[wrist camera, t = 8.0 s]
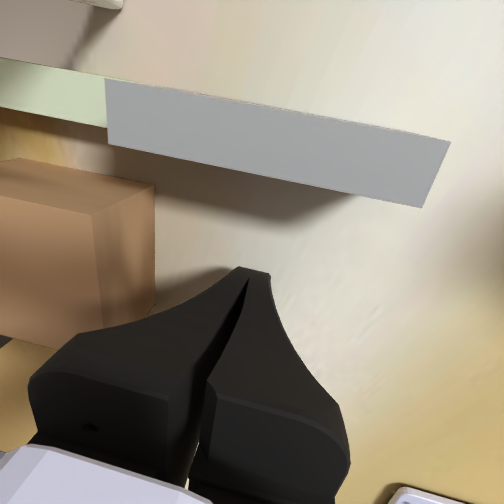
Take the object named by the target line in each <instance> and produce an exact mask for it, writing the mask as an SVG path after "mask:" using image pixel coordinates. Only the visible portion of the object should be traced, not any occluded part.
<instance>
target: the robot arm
mask: <svg viewBox="0 0 504 504" xmlns="http://www.w3.org/2000/svg"><path fill="white" fill-rule="evenodd" d="M270 281H271V276H270V275H269V273H265V272H261V271H256V270H252V269H248V268H244V267H239V266H238V267H237V268H235V269H234V270H233V271H231V272H230V273H229V274H228V275H226V276H225V277H224V278H222V279H221V280H220V281H218V282H217V283H216V284H214V285H213V286H211V287H210V288H208V289H207V290H205V291H204V292H202V293H200V294H199V295H197V296H195V297H194V298H192V299H190V300H188V301H186V302H184V303H182V304H180V305H178V306H176V307H174V308H171V309H169V310H166V311H163V312H161V313H158V314H155V315H153V316H150V317H147V318H144V319H141V320H137V321H134V322H130V323H126V324H122V325H118V326H114V327H109V328H104V329H99V330H94V331H89V332H83V333H77V334H76V335H75V336H74V337H73V338H72V339H70V340H69V341H68V342H67V343H66V344H64V345H63V346H62V347H61V348H60V349H59V350H58V351H57V352H56V353H55V354H54V355H53V356H52V357H51V358H50V359H49V360H48V361H47V362H46V363H45V364H44V365H43V366H42V367H40V368H39V369H38V370H37V371H36V372H35V373H34V374H33V375H32V376H31V377H30V380H29V383H28V396H29V401H30V405H31V408H32V412H33V415H34V419H35V422H36V425H37V429H38V432H37V433H36V434H35V435H34V436H33V438H32V439H31V440H30V441H29V442H28V443H27V445H24V446H21V447H19V448H16V449H14V450H11V451H9V452H7V453H6V452H3V451H0V504H335V495H336V494H337V492H338V490H339V488H340V487H341V485H342V483H343V481H344V479H345V478H346V476H347V474H348V471H349V468H350V464H351V462H350V450H349V443H348V438H347V434H346V429H345V425H344V421H343V418H342V414H341V411H340V408H339V405H338V403H337V402H336V401H335V400H334V399H333V398H332V397H331V396H330V395H329V394H328V393H327V391H326V390H325V389H324V388H323V387H322V386H321V385H320V384H319V383H318V382H317V380H316V379H315V378H314V377H313V375H312V374H311V373H310V371H309V370H308V369H307V367H306V366H305V364H304V363H303V361H302V360H301V358H300V357H299V355H298V354H297V352H296V351H295V349H294V347H293V345H292V344H291V342H290V340H289V338H288V336H287V334H286V332H285V330H284V328H283V326H282V323H281V321H280V318H279V315H278V313H277V310H276V306H275V303H274V299H273V295H272V290H271V282H270ZM198 442H199V444H198ZM197 445H198V447H197ZM196 449H197V450H196ZM195 452H196V453H195ZM194 455H195V456H194ZM193 458H194V459H193ZM192 461H193V462H192ZM187 478H189V487H188V490H187V489H184V488H185V484H186V481H187ZM388 504H464V503H461V502H458V501H454V500H451V499H447V498H444V497H440V496H437V495H434V494H430V493H427V492H423V491H420V490H417V489H413V488H410V487H401V488H399V489H398V490H397V492H396V493H395V494H394V496H393V497H392V498H391V500H390V501H389V502H388Z"/></svg>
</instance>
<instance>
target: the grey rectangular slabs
mask: <svg viewBox="0 0 504 504" xmlns="http://www.w3.org/2000/svg"><path fill="white" fill-rule="evenodd" d="M104 81H105V97H106V114H107V131H108V144H111V145H116V146H121V147H126V148H131V149H136V150H140V151H145V152H150V153H155V154H160V155H165V156H170V157H174V158H179V159H184V160H189V161H194V162H199V163H204V164H208V165H213V166H218V167H223V168H228V169H233V170H238V171H243V172H247V173H252V174H257V175H262V176H267V177H272V178H277V179H281V180H286V181H291V182H296V183H301V184H306V185H311V186H315V187H320V188H325V189H330V190H335V191H340V192H345V193H349V194H354V195H359V196H364V197H369V198H374V199H379V200H383V201H388V202H393V203H398V204H403V205H408V206H413V207H418V208H422V206H423V204H424V202H425V200H426V197H427V195H428V193H429V191H430V188H431V186H432V184H433V182H434V179H435V177H436V175H437V173H438V170H439V168H440V166H441V164H442V161H443V159H444V157H445V155H446V153H447V150H448V148H449V146H450V144H451V142H450V141H445V140H441V139H437V138H432V137H428V136H424V135H419V134H415V133H410V132H406V131H401V130H395V129H390V128H384V127H379V126H373V125H368V124H362V123H357V122H351V121H346V120H340V119H335V118H329V117H324V116H319V115H313V114H308V113H302V112H297V111H291V110H286V109H280V108H275V107H269V106H264V105H258V104H253V103H247V102H242V101H236V100H231V99H226V98H220V97H215V96H209V95H204V94H198V93H193V92H187V91H182V90H176V89H171V88H165V87H158V86H152V85H145V84H139V83H132V82H126V81H119V80H113V79H106V78H104Z"/></svg>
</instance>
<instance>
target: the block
mask: <svg viewBox="0 0 504 504" xmlns="http://www.w3.org/2000/svg"><path fill="white" fill-rule="evenodd" d="M154 305H155V210H154V185H151V184H146V183H142V182H137V181H132V180H127V179H122V178H117V177H112V176H107V175H102V174H97V173H92V172H87V171H82V170H77V169H72V168H67V167H62V166H57V165H52V164H47V163H42V162H37V161H32V160H27V159H23V158H18V159H12V160H6V161H0V335H4V336H8V337H11V338H15V339H19V340H22V341H26V342H30V343H34V344H37V345H41V346H45V347H48V348H52V349H56V350H59V349H60V348H61V347H62V346H63V345H64V344H66V343H67V342H68V341H69V340H70V339H72V338H73V337H74V336H75V335H76V334H77V333H83V332H89V331H94V330H99V329H104V328H109V327H114V326H118V325H122V324H126V323H130V322H134V321H137V320H141V319H144V318H145V316H146V315H147V314H148V313H149V311H150V310H151V309H152V308H153V306H154Z"/></svg>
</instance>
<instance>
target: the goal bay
mask: <svg viewBox="0 0 504 504" xmlns="http://www.w3.org/2000/svg"><path fill="white" fill-rule="evenodd" d="M104 78H106V79H113V80H119V81H126V82H132V81H127V80H122V79H116V78H111V77H105V76H100V75H94V74H89V73H83V72H78V71H72V70H67V69H61V68H56V67H50V66H45V65H39V64H34V63H28V62H22V61H18V60H11V59H7V58H1V57H0V107H5V108H10V109H15V110H20V111H25V112H30V113H35V114H40V115H45V116H50V117H55V118H60V119H65V120H69V121H74V122H79V123H84V124H89V125H94V126H99V127H104V128H107V114H106V97H105V81H104ZM132 83H138V82H132ZM139 84H143V83H139ZM145 85H149V84H145ZM152 86H154V85H152ZM158 87H160V86H158Z"/></svg>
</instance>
